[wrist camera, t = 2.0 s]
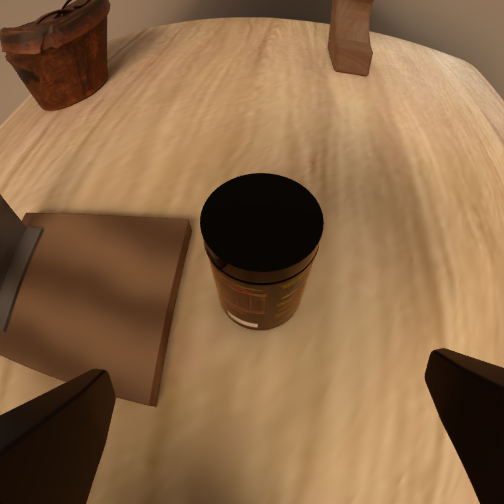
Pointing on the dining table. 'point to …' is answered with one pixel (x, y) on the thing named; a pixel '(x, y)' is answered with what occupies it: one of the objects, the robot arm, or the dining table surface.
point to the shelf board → (90, 295)
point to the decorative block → (350, 36)
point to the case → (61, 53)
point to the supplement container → (261, 246)
